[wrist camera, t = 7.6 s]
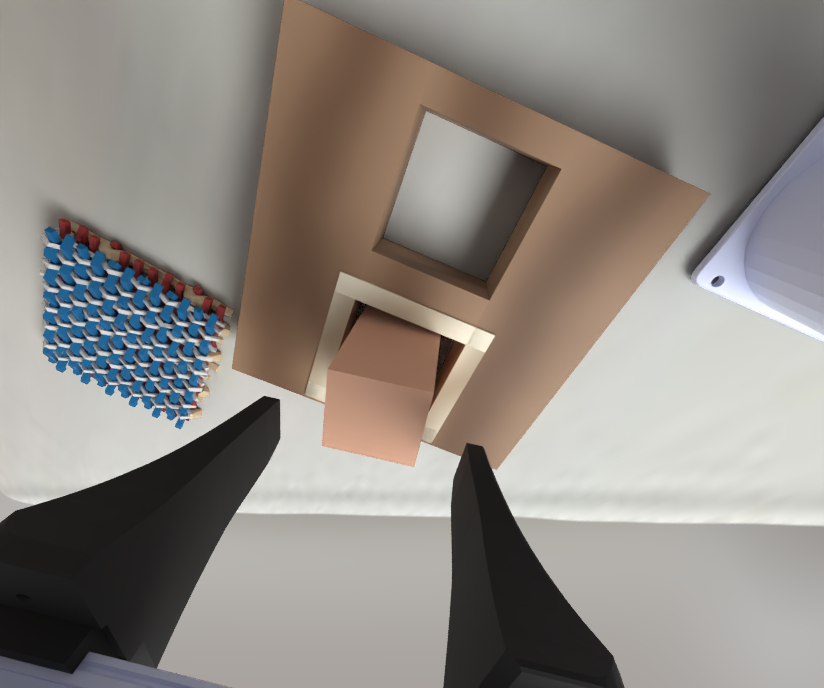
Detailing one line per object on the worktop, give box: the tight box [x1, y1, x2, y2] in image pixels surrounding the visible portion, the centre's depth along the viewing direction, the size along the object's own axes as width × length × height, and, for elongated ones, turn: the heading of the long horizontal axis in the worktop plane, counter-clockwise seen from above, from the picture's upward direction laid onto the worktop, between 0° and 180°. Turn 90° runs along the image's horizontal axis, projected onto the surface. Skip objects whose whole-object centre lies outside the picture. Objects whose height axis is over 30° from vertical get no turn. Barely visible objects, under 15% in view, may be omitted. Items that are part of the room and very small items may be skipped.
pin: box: [322, 304, 441, 467], centre depth 17 cm, size 4×4×7 cm
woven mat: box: [39, 217, 234, 429], centre depth 21 cm, size 10×11×2 cm
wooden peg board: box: [232, 0, 710, 470], centre depth 17 cm, size 16×16×3 cm
